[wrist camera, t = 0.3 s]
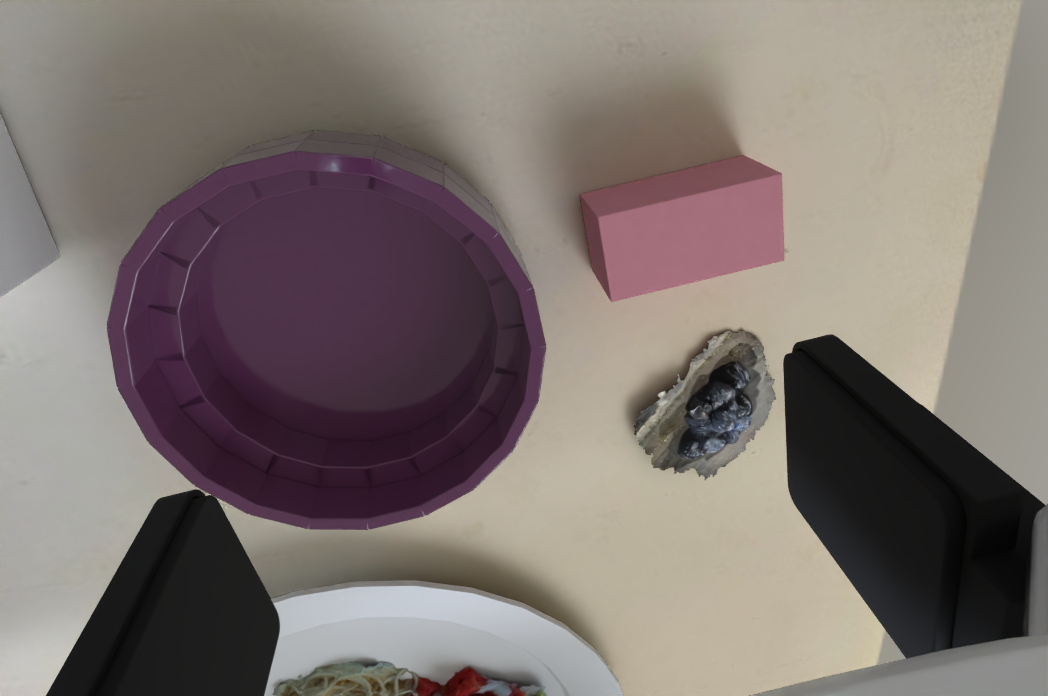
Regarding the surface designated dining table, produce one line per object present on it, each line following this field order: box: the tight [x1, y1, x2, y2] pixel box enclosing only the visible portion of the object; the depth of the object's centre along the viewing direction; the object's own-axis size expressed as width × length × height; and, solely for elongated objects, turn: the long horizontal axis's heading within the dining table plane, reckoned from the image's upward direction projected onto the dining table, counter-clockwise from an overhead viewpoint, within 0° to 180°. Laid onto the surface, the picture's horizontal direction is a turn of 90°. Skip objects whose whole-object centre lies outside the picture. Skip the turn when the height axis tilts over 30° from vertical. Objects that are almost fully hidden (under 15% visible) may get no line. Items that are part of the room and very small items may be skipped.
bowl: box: [107, 130, 546, 530], centre depth 27 cm, size 15×15×5 cm
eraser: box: [580, 155, 784, 302], centre depth 27 cm, size 7×4×4 cm, turn 101°
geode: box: [634, 330, 776, 480], centre depth 33 cm, size 7×8×2 cm
